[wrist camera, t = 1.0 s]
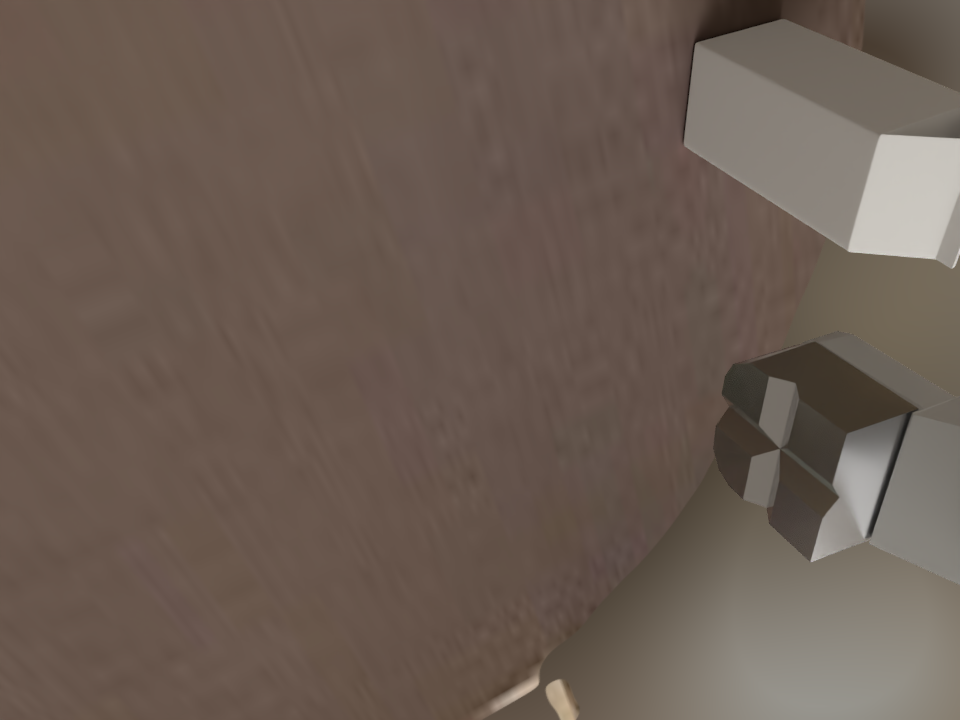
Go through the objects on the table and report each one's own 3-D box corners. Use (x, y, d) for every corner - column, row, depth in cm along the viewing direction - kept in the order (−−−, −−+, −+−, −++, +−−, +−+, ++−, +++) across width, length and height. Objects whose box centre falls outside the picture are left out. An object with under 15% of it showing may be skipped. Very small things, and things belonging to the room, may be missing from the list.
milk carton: (681, 145, 58) (904, 289, 45) (693, 41, 53) (946, 167, 40) (763, 119, 60) (999, 248, 47) (781, 16, 55) (1049, 129, 42)
